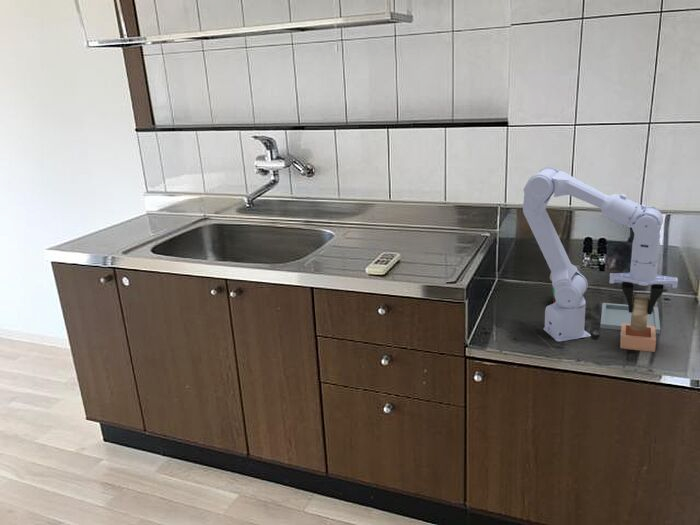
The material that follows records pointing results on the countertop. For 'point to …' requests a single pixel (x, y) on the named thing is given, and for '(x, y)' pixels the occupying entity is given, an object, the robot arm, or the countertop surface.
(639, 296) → the beech dowel
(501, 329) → the countertop surface
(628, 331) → the terracotta square open box
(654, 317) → the slate tray
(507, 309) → the countertop surface
